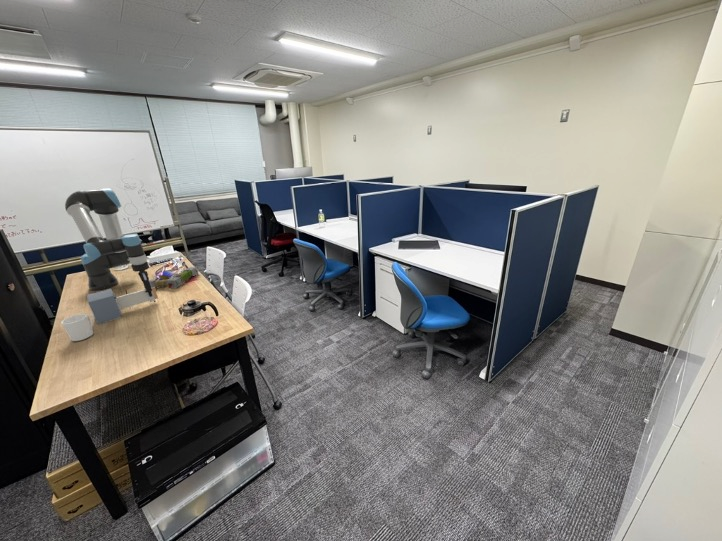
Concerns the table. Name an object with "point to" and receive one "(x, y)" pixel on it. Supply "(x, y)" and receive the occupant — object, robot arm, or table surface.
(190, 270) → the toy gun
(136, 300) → the slim white post
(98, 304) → the block
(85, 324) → the mug
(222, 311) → the table surface
